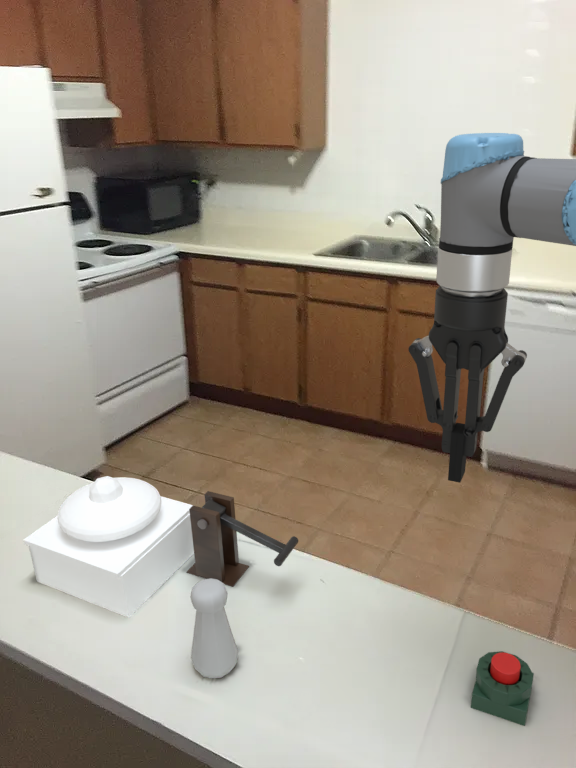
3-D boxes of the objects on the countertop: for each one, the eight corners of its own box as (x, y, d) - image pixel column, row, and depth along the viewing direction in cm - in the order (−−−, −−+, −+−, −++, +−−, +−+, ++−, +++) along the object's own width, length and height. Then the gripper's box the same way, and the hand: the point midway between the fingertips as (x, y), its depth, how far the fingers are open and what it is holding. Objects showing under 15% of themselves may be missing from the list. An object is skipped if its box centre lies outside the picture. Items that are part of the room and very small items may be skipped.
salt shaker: (185, 682, 82) (174, 598, 77) (204, 647, 87) (195, 567, 82) (229, 692, 80) (221, 607, 75) (246, 656, 85) (239, 575, 80)
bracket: (251, 570, 101) (246, 498, 96) (231, 595, 96) (225, 520, 91) (206, 556, 104) (199, 486, 99) (185, 580, 99) (176, 507, 94)
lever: (296, 547, 95) (300, 535, 94) (279, 571, 90) (283, 558, 89) (213, 505, 99) (215, 493, 98) (193, 526, 94) (195, 513, 93)
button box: (532, 686, 80) (536, 661, 78) (525, 726, 75) (529, 700, 73) (480, 669, 82) (482, 645, 81) (469, 708, 77) (472, 682, 76)
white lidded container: (202, 551, 105) (192, 463, 99) (127, 626, 91) (110, 529, 85) (116, 523, 113) (102, 440, 107) (34, 589, 99) (13, 497, 92)
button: (521, 668, 78) (522, 657, 77) (516, 689, 75) (518, 677, 74) (492, 660, 79) (494, 648, 78) (487, 680, 76) (489, 668, 76)
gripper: (539, 283, 72) (516, 471, 82) (421, 273, 77) (412, 451, 87) (530, 302, 66) (507, 503, 75) (402, 290, 71) (395, 480, 81)
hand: (456, 475), depth 81 cm, fingers closed
